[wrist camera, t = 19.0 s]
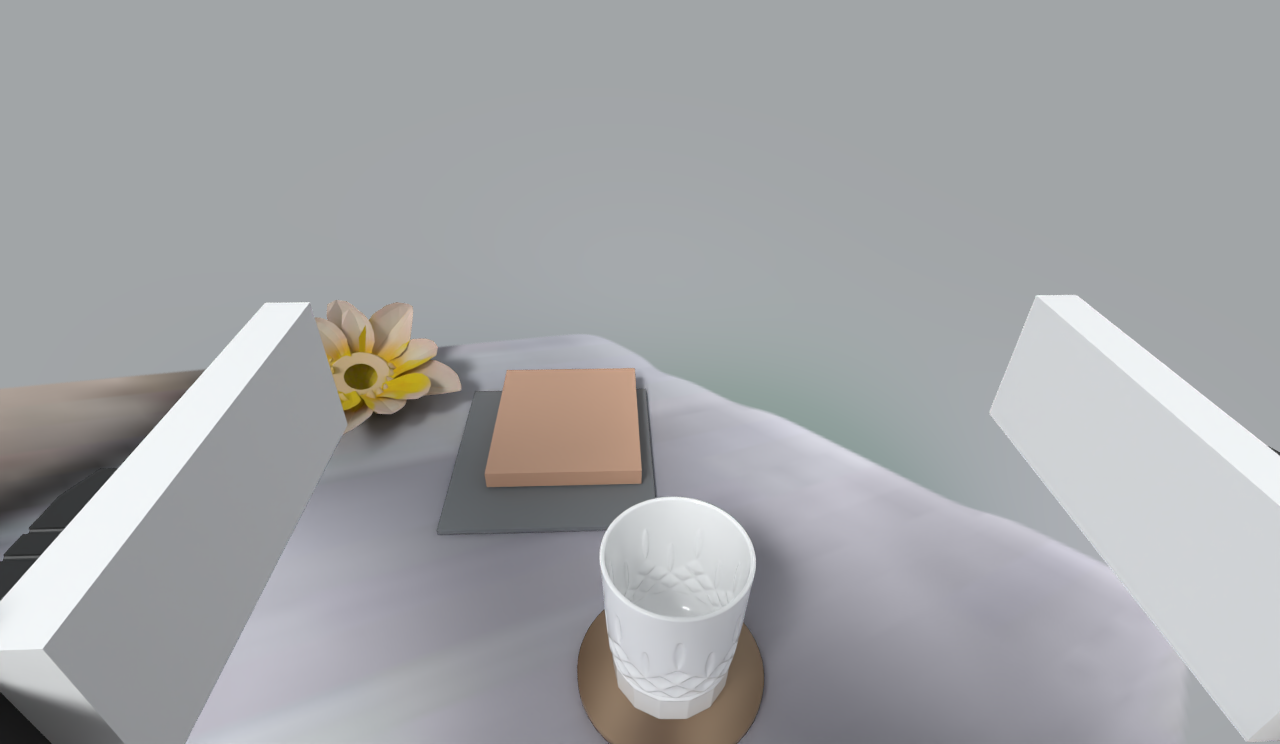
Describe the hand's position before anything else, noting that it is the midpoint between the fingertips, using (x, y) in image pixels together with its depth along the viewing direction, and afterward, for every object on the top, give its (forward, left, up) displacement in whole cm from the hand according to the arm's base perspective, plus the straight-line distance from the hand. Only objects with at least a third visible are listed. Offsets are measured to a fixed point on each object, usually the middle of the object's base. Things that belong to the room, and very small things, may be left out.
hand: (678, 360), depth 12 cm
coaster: (+2, +12, -30) cm, 32 cm away
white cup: (+2, +12, -30) cm, 32 cm away
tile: (-5, +27, -29) cm, 40 cm away
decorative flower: (-23, +38, -30) cm, 54 cm away
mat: (-6, +31, -30) cm, 44 cm away
